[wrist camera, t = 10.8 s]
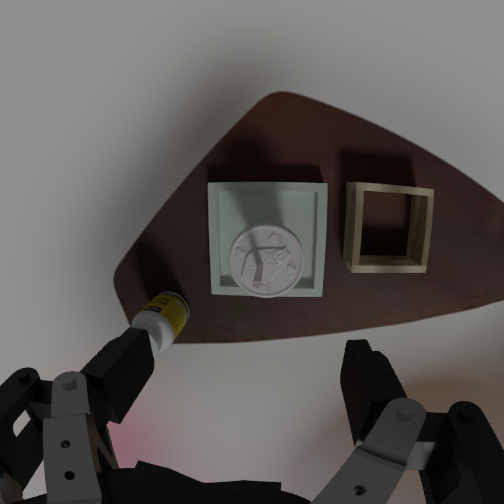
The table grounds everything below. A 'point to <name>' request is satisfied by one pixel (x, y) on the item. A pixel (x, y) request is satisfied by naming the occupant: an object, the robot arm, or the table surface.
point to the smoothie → (266, 259)
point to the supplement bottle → (163, 319)
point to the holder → (416, 236)
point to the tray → (268, 210)
